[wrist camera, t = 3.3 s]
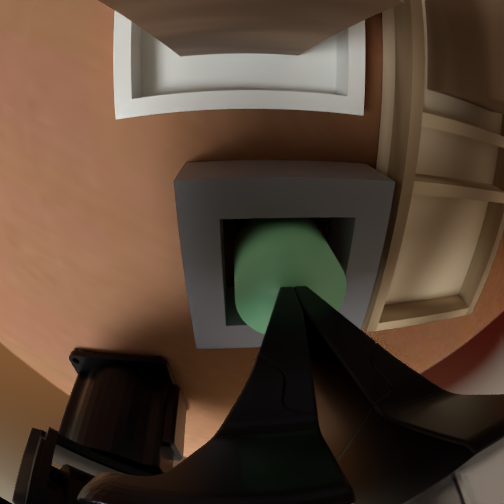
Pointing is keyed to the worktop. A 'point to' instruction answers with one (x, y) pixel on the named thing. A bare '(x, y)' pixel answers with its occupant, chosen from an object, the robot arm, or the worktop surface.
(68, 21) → the worktop surface
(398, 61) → the divided wooden tray
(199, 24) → the block
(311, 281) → the button
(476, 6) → the billet
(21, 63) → the worktop surface
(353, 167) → the button box
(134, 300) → the worktop surface
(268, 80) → the parts tray
